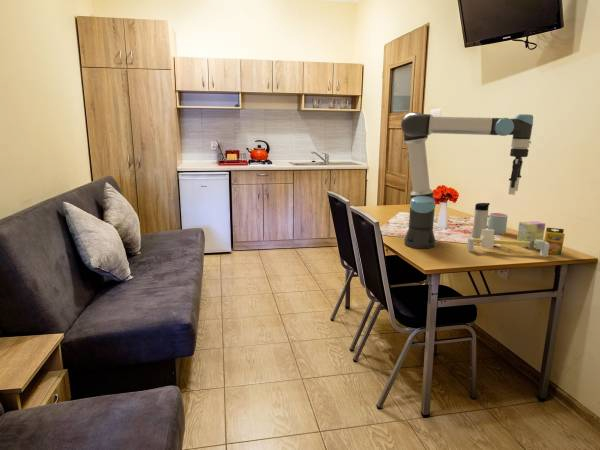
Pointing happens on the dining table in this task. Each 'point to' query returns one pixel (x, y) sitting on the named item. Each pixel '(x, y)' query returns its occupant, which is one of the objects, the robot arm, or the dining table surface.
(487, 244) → the sleeve
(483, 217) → the travel mug
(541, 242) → the rail
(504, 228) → the mug
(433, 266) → the dining table surface
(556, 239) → the crayon box
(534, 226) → the box
